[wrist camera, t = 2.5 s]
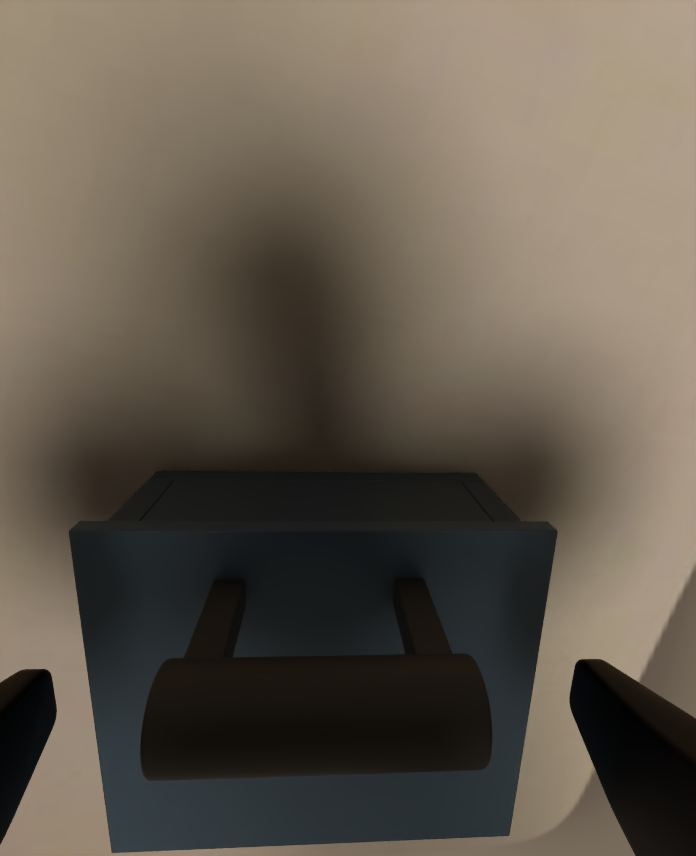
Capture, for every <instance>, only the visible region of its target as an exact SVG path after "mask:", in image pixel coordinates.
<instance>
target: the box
mask: <svg viewBox="0 0 696 856" xmlns="http://www.w3.org/2000/svg"><path fill="white" fill-rule="evenodd" d="M108 521H490V522H522V521H521V520H520V519H519V518H518V517H517V516H516V515H515V514H514V513H513V512H512V510H511V509H510V508H509V507H508V506H507V505H506V504H505V503H504V502H503V501H502V500H501V499H500V498H499V497H498V496H497V494H496V493H495V492H494V491H493V490H492V489H491V488H490V487H489V486H488V485H487V484H486V483H485V482H484V480H483V479H482V478H481V477H480V476H479V475H478V474H472V473H351V472H230V471H157V472H156V473H155V474H154V475H153V476H152V477H151V478H150V479H149V480H148V481H147V482H146V483H145V484H144V485H143V486H142V487H141V488H140V489H139V490H138V491H137V492H136V493H135V494H134V495H133V496H132V497H131V498H130V499H129V500H128V501H127V502H126V503H125V504H124V505H123V506H122V507H121V508H120V509H119V510H118V511H117V512H116V513H115V514H114V515H113V516H112V517H111V518H110V519H109V520H108Z"/></svg>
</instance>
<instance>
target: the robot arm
mask: <svg viewBox="0 0 696 856" xmlns="http://www.w3.org/2000/svg"><path fill="white" fill-rule="evenodd" d="M570 707H571V711H572V714H573V716H574V719H575V721H576V724H577V726H578V729H579V731H580V733H581V736H582V738H583V741H584V743H585V745H586V748H587V750H588V753H589V755H590V758H591V760H592V762H593V765H594V767H595V770H596V772H597V775H598V777H599V779H600V782H601V784H602V787H603V789H604V791H605V794H606V796H607V799H608V801H609V803H610V805H611V808H612V810H613V812H614V814H615V816H616V818H617V820H618V822H619V824H620V826H621V828H622V830H623V832H624V834H625V836H626V838H627V840H628V842H629V844H630V846H631V848H632V850H633V852H634V853H635V855H636V856H696V718H694V717H692V716H691V715H689V714H688V713H686V712H684V711H683V710H681V709H680V708H678V707H677V706H675V705H673V704H672V703H670V702H669V701H667V700H665V699H664V698H662V697H661V696H659V695H658V694H656V693H654V692H653V691H651V690H650V689H648V688H647V687H645V686H643V685H642V684H640V683H639V682H637V681H636V680H634V679H632V678H631V677H629V676H628V675H626V674H624V673H623V672H621V671H620V670H618V669H617V668H615V667H613V666H612V665H610V664H609V663H607V662H605V661H604V660H601V659H581V660H579V661H578V662H577V663H576V665H575V669H574V675H573V680H572V686H571V691H570ZM56 713H57V708H56V701H55V695H54V688H53V682H52V676H51V673H50V672H49V671H48V670H46V669H25V670H21V671H19V672H17V673H15V674H13V675H12V676H10V677H9V678H7V679H5V680H4V681H2V682H1V683H0V844H1V842H2V840H3V838H4V836H5V835H6V832H7V830H8V828H9V826H10V824H11V822H12V819H13V817H14V815H15V813H16V811H17V808H18V806H19V804H20V801H21V799H22V797H23V795H24V792H25V790H26V788H27V785H28V783H29V781H30V779H31V776H32V774H33V772H34V769H35V767H36V765H37V763H38V760H39V758H40V756H41V754H42V751H43V749H44V747H45V744H46V742H47V740H48V738H49V735H50V733H51V731H52V728H53V726H54V723H55V720H56Z"/></svg>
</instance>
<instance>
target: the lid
mask: <svg viewBox="0 0 696 856" xmlns="http://www.w3.org/2000/svg"><path fill="white" fill-rule="evenodd" d="M69 538H70V545H71V552H72V560H73V567H74V575H75V582H76V590H77V597H78V605H79V612H80V619H81V627H82V634H83V642H84V649H85V657H86V664H87V672H88V679H89V686H90V694H91V701H92V709H93V716H94V724H95V731H96V739H97V746H98V753H99V761H100V768H101V776H102V783H103V791H104V798H105V806H106V813H107V820H108V828H109V835H110V843H111V850H112V853H121V852H144V851H168V850H191V849H214V848H237V847H261V846H284V845H307V844H330V843H354V842H377V841H400V840H423V839H447V838H470V837H493V836H509V834H510V828H511V822H512V816H513V809H514V803H515V797H516V790H517V784H518V778H519V771H520V765H521V759H522V753H523V746H524V740H525V734H526V727H527V721H528V715H529V708H530V702H531V696H532V689H533V683H534V677H535V671H536V664H537V658H538V652H539V645H540V639H541V633H542V626H543V620H544V614H545V608H546V601H547V595H548V589H549V582H550V576H551V570H552V563H553V557H554V551H555V545H556V538H557V530H556V529H555V528H554V527H553V526H552V525H551V524H550V523H549V522H490V521H79V522H78V523H77V524H76V525H75V526H74V527H72V528H71V529H70V530H69Z"/></svg>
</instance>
